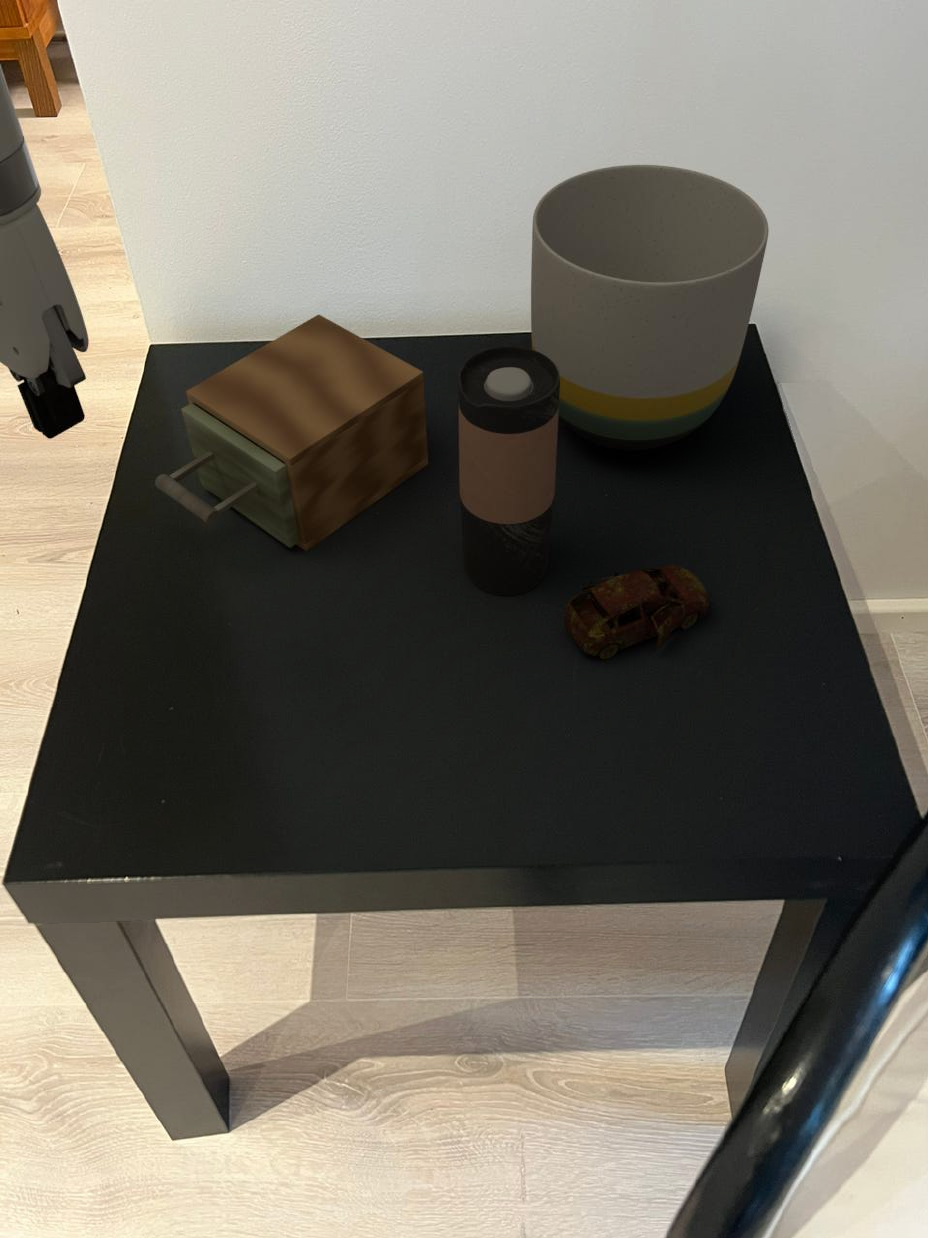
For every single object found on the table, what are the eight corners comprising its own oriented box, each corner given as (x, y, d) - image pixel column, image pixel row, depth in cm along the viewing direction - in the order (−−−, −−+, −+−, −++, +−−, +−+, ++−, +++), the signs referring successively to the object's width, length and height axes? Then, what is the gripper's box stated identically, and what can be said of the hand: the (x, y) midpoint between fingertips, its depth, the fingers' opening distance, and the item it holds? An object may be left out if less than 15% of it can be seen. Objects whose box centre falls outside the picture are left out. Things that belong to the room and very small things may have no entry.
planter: (509, 374, 112) (512, 174, 96) (692, 354, 114) (725, 154, 98) (548, 501, 99) (560, 295, 83) (754, 476, 101) (804, 270, 85)
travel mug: (552, 537, 96) (563, 346, 81) (547, 601, 91) (559, 410, 76) (466, 532, 97) (462, 342, 82) (457, 595, 92) (451, 405, 77)
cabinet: (306, 551, 96) (289, 459, 88) (209, 483, 102) (185, 391, 94) (428, 464, 103) (423, 371, 95) (331, 405, 109) (318, 313, 101)
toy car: (594, 681, 86) (599, 641, 82) (553, 620, 90) (556, 580, 86) (723, 631, 89) (733, 590, 85) (678, 575, 93) (685, 534, 89)
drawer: (239, 584, 92) (220, 508, 86) (150, 517, 98) (126, 440, 91) (406, 466, 102) (400, 389, 95) (317, 411, 107) (305, 335, 101)
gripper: (-153, 161, 66) (-41, 406, 79) (-21, 247, 59) (76, 498, 73) (-42, 119, 69) (47, 360, 83) (95, 194, 62) (167, 444, 76)
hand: (60, 424), depth 78 cm, fingers closed
